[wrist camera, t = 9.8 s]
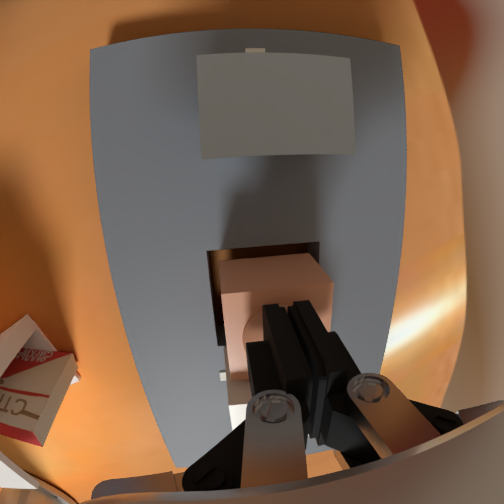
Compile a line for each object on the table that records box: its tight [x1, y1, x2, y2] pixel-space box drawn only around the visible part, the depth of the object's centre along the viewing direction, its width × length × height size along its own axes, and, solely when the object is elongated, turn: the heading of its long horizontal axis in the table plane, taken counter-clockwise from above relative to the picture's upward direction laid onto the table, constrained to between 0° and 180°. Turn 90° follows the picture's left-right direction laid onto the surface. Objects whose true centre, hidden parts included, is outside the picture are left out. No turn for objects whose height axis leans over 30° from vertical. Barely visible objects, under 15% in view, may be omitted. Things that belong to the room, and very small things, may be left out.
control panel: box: [90, 29, 407, 467], centre depth 16 cm, size 26×14×2 cm, turn 3°
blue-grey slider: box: [197, 52, 355, 160], centre depth 10 cm, size 3×4×4 cm
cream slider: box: [224, 347, 309, 436], centre depth 14 cm, size 3×4×4 cm
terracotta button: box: [219, 253, 334, 381], centre depth 13 cm, size 4×4×3 cm
